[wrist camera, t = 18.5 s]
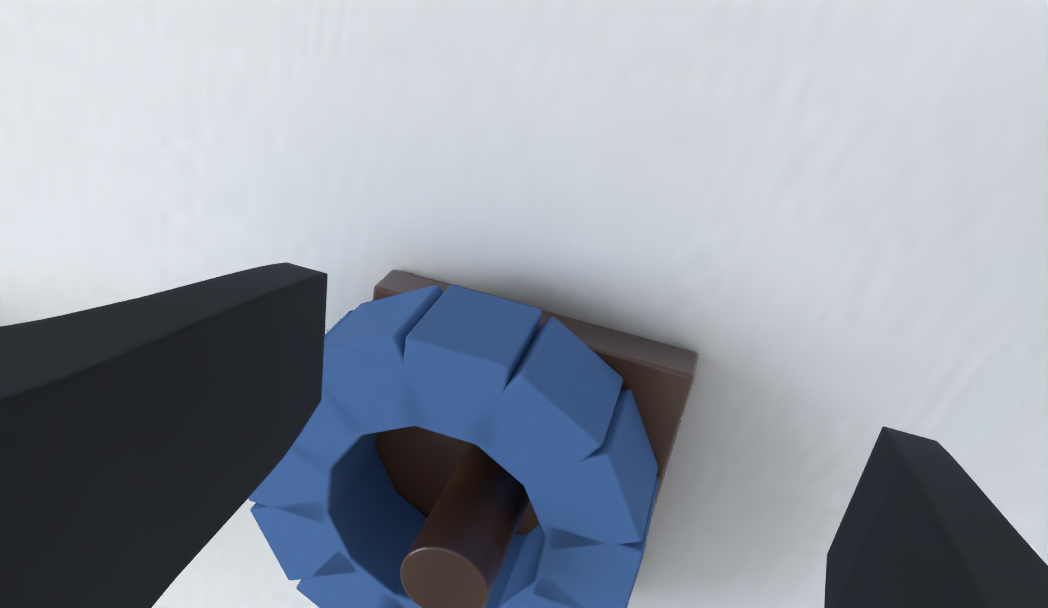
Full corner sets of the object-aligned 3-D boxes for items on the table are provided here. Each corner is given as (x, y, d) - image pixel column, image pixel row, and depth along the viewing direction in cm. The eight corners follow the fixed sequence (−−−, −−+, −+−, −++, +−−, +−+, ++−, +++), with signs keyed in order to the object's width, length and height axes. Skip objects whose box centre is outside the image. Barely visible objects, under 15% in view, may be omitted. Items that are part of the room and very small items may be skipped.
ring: (698, 350, 19) (686, 417, 16) (610, 641, 23) (590, 727, 21) (310, 244, 20) (247, 290, 18) (298, 536, 25) (246, 604, 23)
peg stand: (699, 352, 20) (673, 498, 15) (627, 587, 24) (587, 767, 19) (392, 267, 22) (277, 377, 17) (369, 503, 25) (269, 650, 20)
